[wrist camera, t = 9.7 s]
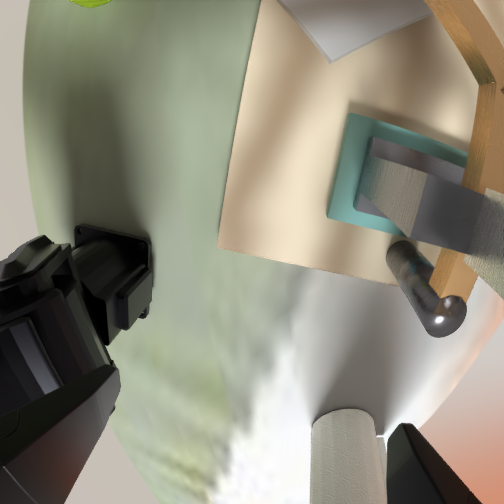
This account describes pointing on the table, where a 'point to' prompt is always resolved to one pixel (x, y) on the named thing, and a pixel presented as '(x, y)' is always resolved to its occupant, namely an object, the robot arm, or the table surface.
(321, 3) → the beige rectangular panel
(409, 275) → the wooden crank handle
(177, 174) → the table surface
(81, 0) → the soap dispenser
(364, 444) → the paper towel roll
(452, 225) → the grey boxy piece
